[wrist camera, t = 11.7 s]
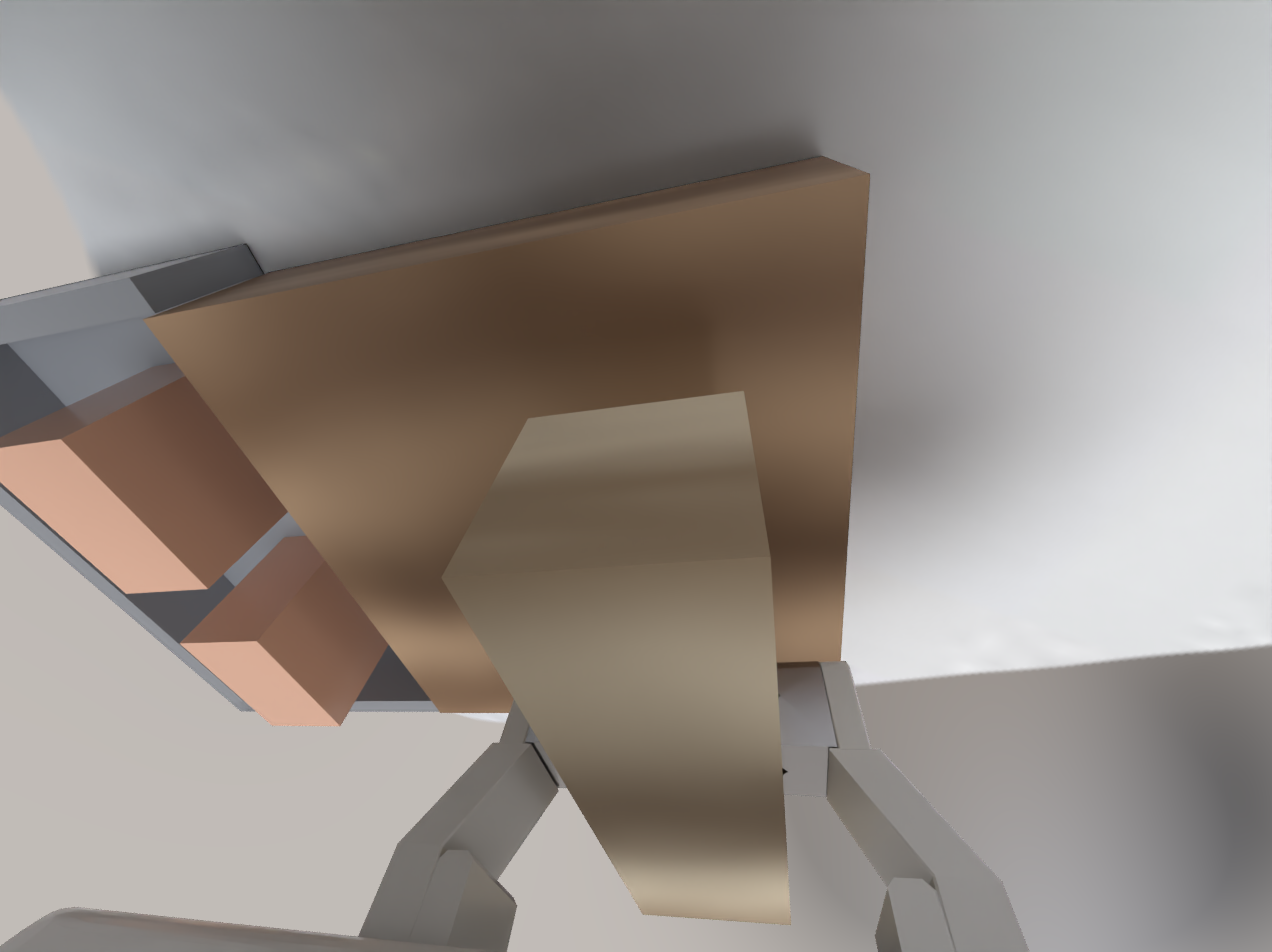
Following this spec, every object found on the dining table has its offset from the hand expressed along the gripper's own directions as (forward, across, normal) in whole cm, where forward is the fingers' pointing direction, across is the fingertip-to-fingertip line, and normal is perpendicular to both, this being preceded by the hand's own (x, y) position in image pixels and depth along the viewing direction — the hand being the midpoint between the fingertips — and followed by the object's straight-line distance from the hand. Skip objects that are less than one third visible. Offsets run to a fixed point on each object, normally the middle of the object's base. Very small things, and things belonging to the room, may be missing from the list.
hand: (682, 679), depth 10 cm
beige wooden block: (+1, 0, 0) cm, 1 cm away
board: (+8, +3, 0) cm, 8 cm away
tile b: (+5, +14, +4) cm, 15 cm away
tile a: (+5, +13, -4) cm, 15 cm away
